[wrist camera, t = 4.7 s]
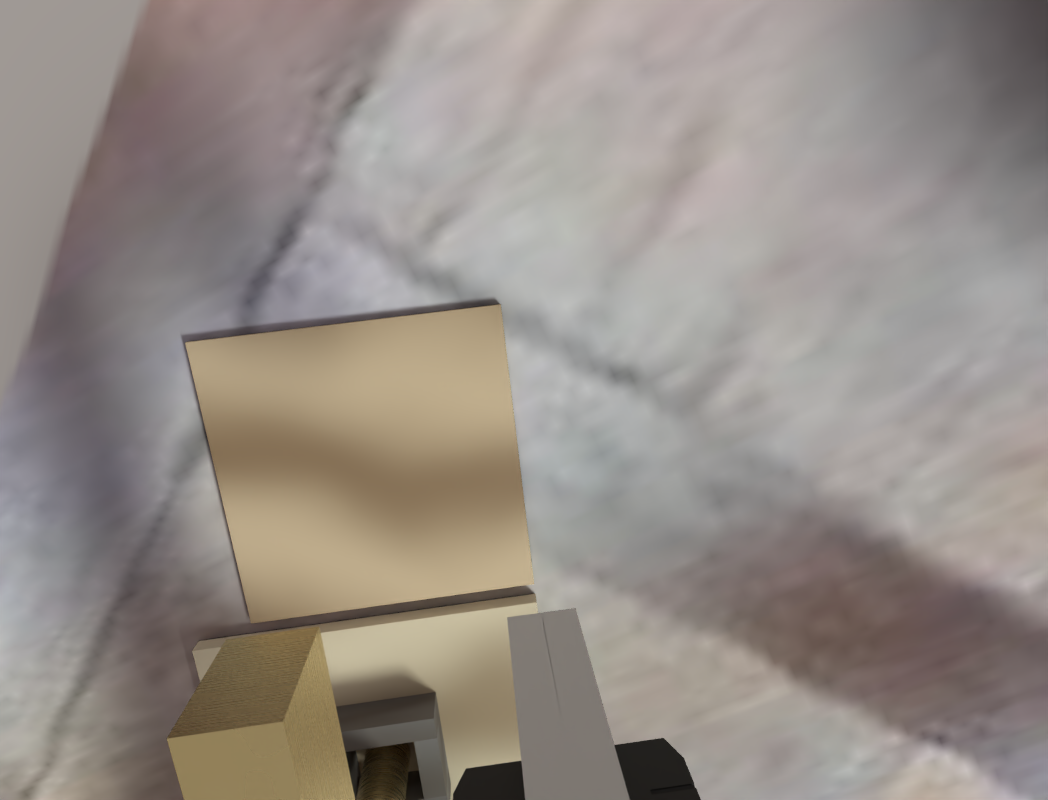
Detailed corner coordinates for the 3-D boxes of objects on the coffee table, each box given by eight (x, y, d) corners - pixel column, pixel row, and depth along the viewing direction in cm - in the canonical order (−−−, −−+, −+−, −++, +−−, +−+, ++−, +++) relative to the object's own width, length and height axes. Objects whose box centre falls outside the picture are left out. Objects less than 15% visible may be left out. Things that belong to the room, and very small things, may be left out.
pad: (187, 341, 22) (185, 342, 22) (500, 304, 22) (500, 304, 22) (253, 620, 24) (251, 623, 24) (533, 581, 25) (534, 584, 25)
